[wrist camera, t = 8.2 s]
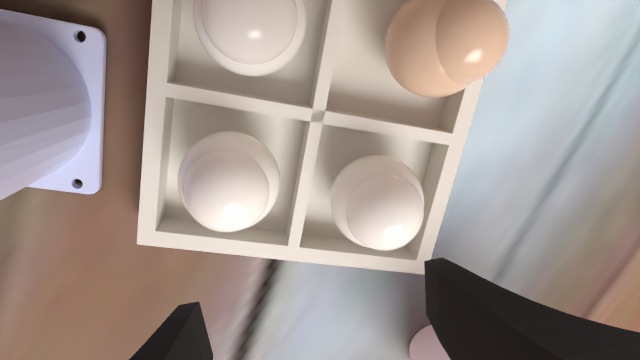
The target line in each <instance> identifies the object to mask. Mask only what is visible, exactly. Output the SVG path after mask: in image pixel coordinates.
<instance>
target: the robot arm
mask: <svg viewBox="0 0 640 360" xmlns="http://www.w3.org/2000/svg"><path fill="white" fill-rule="evenodd" d="M80 31H83V32H84V33H85V35H86V39H85V41H84V42H80V41H79V39H78V37H77V35H78V32H80ZM106 45H107V40H106V36H105V34H104V33H103V32H102V31H101V30H100V29H98V28H95V27H90V26H85V25H80V24H75V23H70V22H65V21H60V20H54V19H49V18H44V17H39V16H34V15H29V14H24V13H19V12H13V11H8V10H3V9H0V200H2V199H4V198H5V197H7V196H9V195H11V194H13V193H15V192H17V191H19V190H21V189H22V188H24V187H34V188H42V189H50V190H58V191H66V192H74V193H82V194H94V193H96V192H97V191H98V190H99V189H100V188H101V185H102V159H103V130H104V102H105V73H106ZM75 179H79V180H81V181H82V183H83V186H78V185H77V184H76V182H75ZM424 267H425V290H426V312H427V316H428V318H429V321H430V323H431V325H432V327H433V329H434V331H435V333H436V336H437V338H438V340H439V342H440V343H441V345H442V347H443V348H444V350H445V351H446V353H447V355H448V356H449V358H450V359H451V360H640V333H639V332H635V331H630V330H625V329H621V328H617V327H613V326H609V325H605V324H601V323H598V322H594V321H591V320H587V319H584V318H580V317H577V316H574V315H571V314H567V313H564V312H562V311H559V310H556V309H553V308H550V307H548V306H545V305H542V304H539V303H537V302H534V301H532V300H529V299H527V298H525V297H522V296H520V295H518V294H515V293H513V292H511V291H509V290H506V289H504V288H502V287H500V286H498V285H496V284H494V283H492V282H490V281H488V280H486V279H484V278H482V277H480V276H478V275H476V274H474V273H472V272H470V271H468V270H466V269H464V268H463V267H461V266H459V265H457V264H455V263H453V262H451V261H449V260H446V259H444V258H438V259H432V260H427V261H424ZM129 360H213V353H212V349H211V345H210V341H209V338H208V334H207V330H206V326H205V322H204V318H203V315H202V311H201V307H200V303H199V302H194V303H188V304H183V305H179V306H178V307H177V308H176V309H175V310H174V311H173V312H172V313H171V314H170V316H169V317H168V318H167V319H166V320H165V321H164V322H163V323H162V325H161V326H160V327H159V328H158V329H157V330H156V331H155V332H154V334H153V335H152V336H151V337H150V338H149V339H148V340H147V341H146V342H145V344H144V345H143V346H142V347H141V348H140V349H139V350H138V351H137V352H136V353H135V354H134V355H133V356H132V357H131V358H130V359H129Z"/></svg>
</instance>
